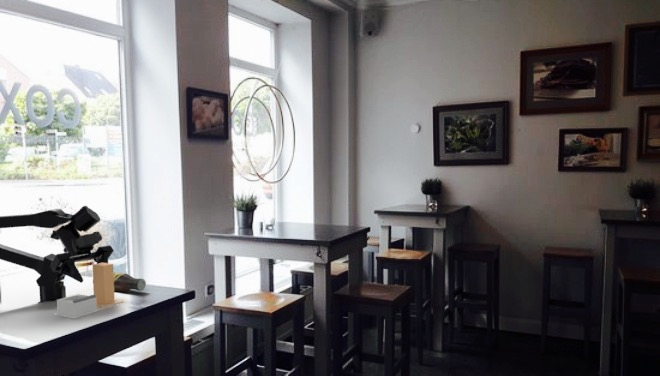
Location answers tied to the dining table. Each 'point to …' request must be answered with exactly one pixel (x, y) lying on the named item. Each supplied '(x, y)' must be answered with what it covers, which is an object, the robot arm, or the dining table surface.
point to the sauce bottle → (127, 282)
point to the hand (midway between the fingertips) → (95, 278)
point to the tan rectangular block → (103, 283)
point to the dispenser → (81, 305)
